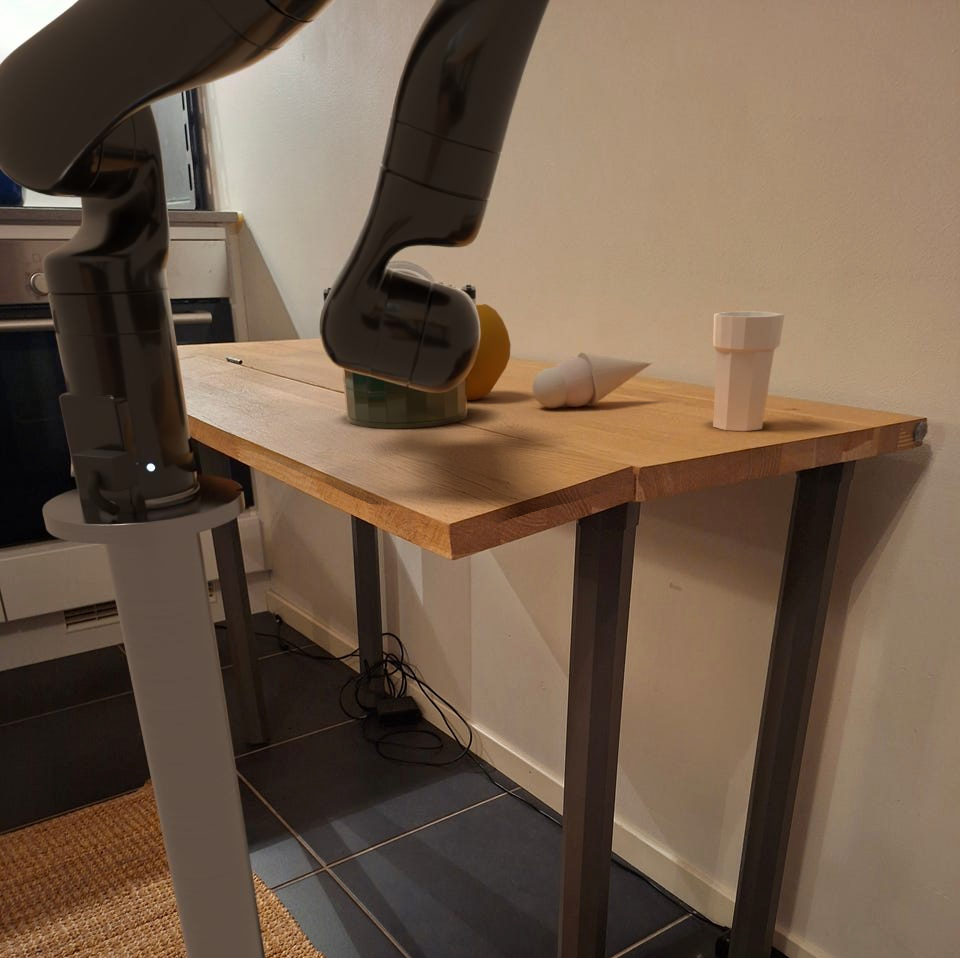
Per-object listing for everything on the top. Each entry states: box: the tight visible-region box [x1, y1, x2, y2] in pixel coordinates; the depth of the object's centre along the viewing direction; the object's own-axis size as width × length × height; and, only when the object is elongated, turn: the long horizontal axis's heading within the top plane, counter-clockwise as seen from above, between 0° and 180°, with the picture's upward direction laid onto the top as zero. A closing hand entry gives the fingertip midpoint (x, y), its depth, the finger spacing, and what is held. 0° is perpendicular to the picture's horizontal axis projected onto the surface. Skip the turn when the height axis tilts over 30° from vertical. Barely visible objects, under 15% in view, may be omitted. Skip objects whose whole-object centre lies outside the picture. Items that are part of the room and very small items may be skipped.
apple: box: [467, 303, 512, 401], centre depth 111 cm, size 10×10×12 cm
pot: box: [342, 369, 468, 430], centre depth 101 cm, size 14×14×7 cm
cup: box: [712, 310, 785, 432], centre depth 92 cm, size 7×7×11 cm
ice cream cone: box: [532, 352, 653, 409], centre depth 106 cm, size 6×6×15 cm
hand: (400, 298), depth 90 cm, fingers open, 8 cm apart
